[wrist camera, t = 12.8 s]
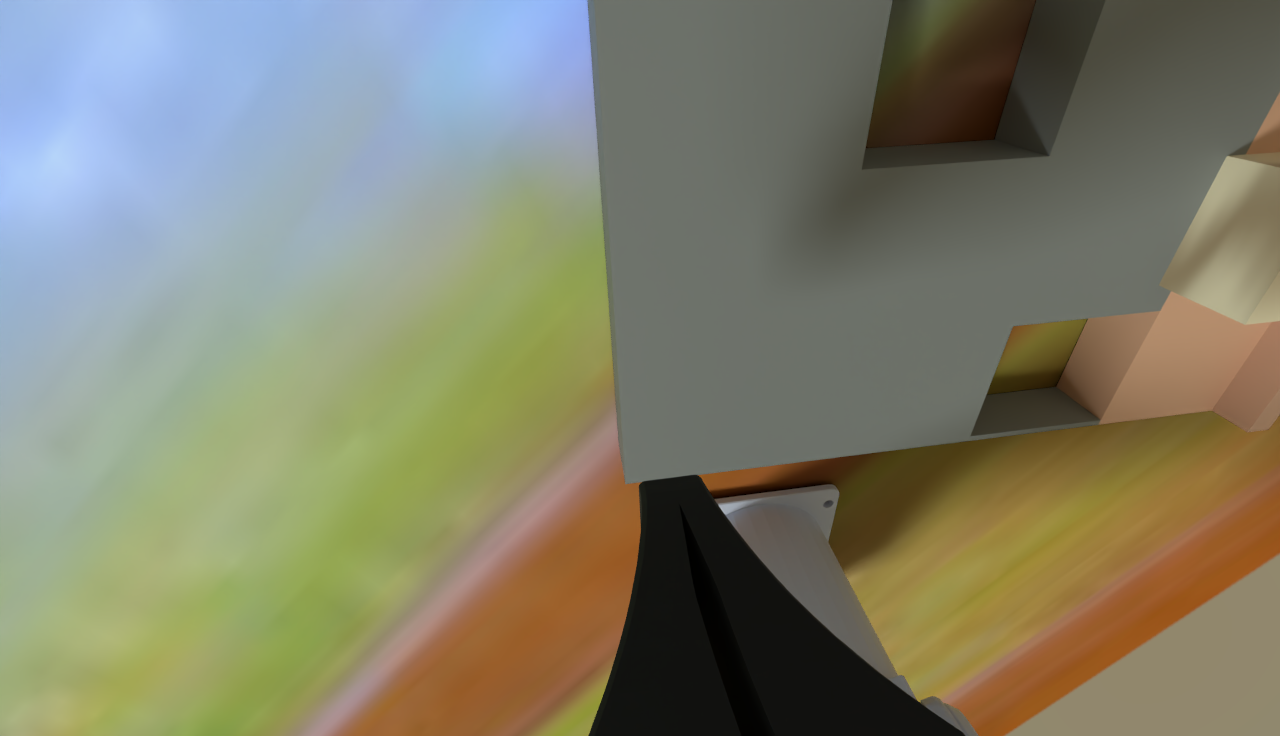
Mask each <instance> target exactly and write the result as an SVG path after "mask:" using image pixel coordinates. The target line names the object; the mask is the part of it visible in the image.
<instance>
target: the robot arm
mask: <svg viewBox="0 0 1280 736" xmlns="http://www.w3.org/2000/svg"><path fill="white" fill-rule="evenodd" d="M639 497H640V519H641V535H640V544H639V553H638V561H637V567H636V573H635V578H634V583H633V589H632V594H631V599H630V604H629V608H628V612H627V617H626V621H625V625H624V628H623V632H622V636H621V640H620V644H619V647H618V650H617V654H616V657H615V660H614V664H613V667H612V670H611V674H610V677H609V680H608V683H607V686H606V689H605V692H604V695H603V698H602V700H601V703H600V706H599V709H598V711H597V714H596V717H595V720H594V722H593V725H592V728H591V731H590V733H589V736H978V734H977V733H976V731H975V730H974V728H973V727H972V725H971V724H970V723H969V721H968V720H967V719H966V717H965V716H964V715H963V714H962V713H961V712H960V711H959V710H958V709H956V708H954V707H952V706H950V705H948V704H946V703H943V702H942V701H941V700H940V699H939V698H937V697H935V696H931V697H928V698H926V699H923V700H921V703H920V702H918V701H917V700H916V698H915V696H914V694H913V692H912V690H911V688H910V687H909V685H908V683H907V681H906V679H905V677H904V676H902V675H899V676H898V675H897V673H896V671H895V669H894V667H893V665H892V663H891V661H890V659H889V657H888V655H887V654H886V652H885V650H884V648H883V646H882V644H881V642H880V640H879V638H878V636H877V634H876V633H875V631H874V629H873V627H872V625H871V623H870V621H869V619H868V617H867V615H866V614H865V612H864V610H863V608H862V606H861V604H860V602H859V600H858V598H857V596H856V594H855V593H854V591H853V589H852V587H851V585H850V583H849V581H848V579H847V577H846V575H845V573H844V572H843V570H842V568H841V566H840V564H839V562H838V560H837V558H836V556H835V554H834V552H833V551H832V549H831V547H830V545H829V543H828V541H829V537H830V532H831V528H832V524H833V520H834V515H835V511H836V507H837V503H838V498H839V491H838V489H837V488H836V486H835V485H832V484H827V485H819V486H811V487H804V488H796V489H788V490H781V491H773V492H765V493H758V494H750V495H742V496H735V497H727V498H719V499H714V498H713V497H712V495H711V494H710V492H709V490H708V489H707V487H706V486H705V484H704V482H703V481H702V479H701V477H699V476H698V475H688V476H680V477H672V478H664V479H656V480H648V481H643V482H642V483H641V484H640V485H639Z"/></svg>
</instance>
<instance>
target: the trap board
mask: <svg viewBox="0 0 1280 736" xmlns="http://www.w3.org/2000/svg"><path fill="white" fill-rule="evenodd" d="M892 1H893V0H588V13H589V28H590V42H591V56H592V70H593V84H594V99H595V113H596V127H597V141H598V156H599V170H600V184H601V198H602V212H603V227H604V241H605V255H606V269H607V284H608V298H609V312H610V326H611V340H612V355H613V369H614V383H615V397H616V412H617V426H618V440H619V447H620V454H621V460H622V466H623V472H624V478H625V484H629V483H637V482H643V481H648V480H656V479H664V478H672V477H680V476H688V475H701V474H709V473H717V472H725V471H733V470H741V469H749V468H757V467H765V466H773V465H781V464H789V463H797V462H805V461H813V460H821V459H829V458H837V457H845V456H853V455H861V454H869V453H877V452H885V451H893V450H901V449H908V448H916V447H924V446H932V445H940V444H948V443H956V442H964V441H972V440H980V439H988V438H996V437H1004V436H1012V435H1020V434H1028V433H1036V432H1044V431H1052V430H1060V429H1068V428H1076V427H1084V426H1092V425H1100V424H1108V423H1116V422H1124V421H1132V420H1140V419H1148V418H1156V417H1164V416H1172V415H1180V414H1188V413H1196V412H1204V411H1213V412H1215V413H1217V414H1218V415H1220V416H1222V417H1223V418H1225V419H1227V420H1228V421H1230V422H1231V423H1233V424H1235V425H1236V426H1238V427H1240V428H1241V429H1243V430H1245V431H1246V432H1253V431H1261V430H1268V429H1269V428H1270V427H1271V426H1272V424H1273V423H1274V422H1275V420H1276V419H1277V418H1278V416H1279V415H1280V321H1275V322H1266V323H1257V324H1248V325H1244V324H1242V323H1240V322H1238V321H1235V320H1233V319H1231V318H1229V317H1227V316H1225V315H1222V314H1220V313H1218V312H1216V311H1214V310H1211V309H1209V308H1207V307H1205V306H1203V305H1200V304H1198V303H1196V302H1194V301H1192V300H1190V299H1187V298H1185V297H1183V296H1181V295H1179V294H1176V293H1174V292H1172V291H1170V290H1168V289H1165V288H1163V287H1161V286H1159V284H1160V282H1161V280H1162V278H1163V276H1164V274H1165V272H1166V270H1167V269H1168V267H1169V265H1170V263H1171V261H1172V259H1173V257H1174V255H1175V253H1176V251H1177V250H1178V248H1179V246H1180V244H1181V242H1182V240H1183V238H1184V236H1185V234H1186V233H1187V231H1188V229H1189V227H1190V225H1191V223H1192V221H1193V219H1194V217H1195V216H1196V214H1197V212H1198V210H1199V208H1200V206H1201V204H1202V202H1203V200H1204V198H1205V197H1206V195H1207V193H1208V191H1209V189H1210V187H1211V185H1212V183H1213V181H1214V180H1215V178H1216V176H1217V174H1218V172H1219V170H1220V168H1221V166H1222V164H1223V162H1224V161H1225V159H1226V157H1227V156H1233V155H1246V154H1259V153H1273V152H1280V0H1036V3H1035V7H1034V10H1033V13H1032V17H1031V20H1030V23H1029V27H1028V30H1027V33H1026V37H1025V40H1024V43H1023V46H1022V50H1021V53H1020V56H1019V60H1018V63H1017V66H1016V70H1015V73H1014V76H1013V80H1012V83H1011V86H1010V90H1009V93H1008V96H1007V99H1006V103H1005V106H1004V109H1003V113H1002V116H1001V119H1000V123H999V126H998V129H997V133H996V136H995V139H994V140H982V141H967V142H953V143H938V144H923V145H908V146H894V147H879V148H866V143H867V137H868V132H869V126H870V121H871V115H872V110H873V105H874V99H875V94H876V88H877V83H878V77H879V72H880V66H881V61H882V55H883V50H884V44H885V39H886V33H887V28H888V22H889V17H890V12H891V6H892ZM1087 318H1088V320H1087V322H1086V324H1085V326H1084V329H1083V331H1082V333H1081V335H1080V337H1079V339H1078V341H1077V344H1076V346H1075V348H1074V350H1073V352H1072V354H1071V356H1070V358H1069V361H1068V363H1067V365H1066V367H1065V369H1064V371H1063V373H1062V376H1061V378H1060V380H1059V382H1058V384H1057V386H1056V387H1050V388H1042V389H1033V390H1025V391H1016V392H1008V393H999V394H991V395H986V394H987V392H988V389H989V387H990V384H991V382H992V379H993V376H994V374H995V371H996V369H997V366H998V363H999V361H1000V358H1001V356H1002V353H1003V351H1004V348H1005V345H1006V343H1007V340H1008V338H1009V335H1010V332H1011V330H1012V327H1013V326H1020V325H1029V324H1039V323H1049V322H1058V321H1068V320H1077V319H1087Z"/></svg>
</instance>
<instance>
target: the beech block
mask: <svg viewBox="0 0 1280 736" xmlns="http://www.w3.org/2000/svg"><path fill="white" fill-rule="evenodd" d="M1159 286H1161V287H1163V288H1165V289H1168V290H1170V291H1172V292H1174V293H1176V294H1179V295H1181V296H1183V297H1185V298H1187V299H1190V300H1192V301H1194V302H1196V303H1198V304H1200V305H1203V306H1205V307H1207V308H1209V309H1211V310H1214V311H1216V312H1218V313H1220V314H1222V315H1225V316H1227V317H1229V318H1231V319H1233V320H1235V321H1238V322H1240V323H1242V324H1244V325H1248V324H1257V323H1266V322H1275V321H1280V152H1273V153H1259V154H1246V155H1233V156H1227V157H1226V159H1225V161H1224V162H1223V164H1222V166H1221V168H1220V170H1219V172H1218V174H1217V176H1216V178H1215V180H1214V181H1213V183H1212V185H1211V187H1210V189H1209V191H1208V193H1207V195H1206V197H1205V198H1204V200H1203V202H1202V204H1201V206H1200V208H1199V210H1198V212H1197V214H1196V216H1195V217H1194V219H1193V221H1192V223H1191V225H1190V227H1189V229H1188V231H1187V233H1186V234H1185V236H1184V238H1183V240H1182V242H1181V244H1180V246H1179V248H1178V250H1177V251H1176V253H1175V255H1174V257H1173V259H1172V261H1171V263H1170V265H1169V267H1168V269H1167V270H1166V272H1165V274H1164V276H1163V278H1162V280H1161V282H1160V284H1159Z"/></svg>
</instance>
